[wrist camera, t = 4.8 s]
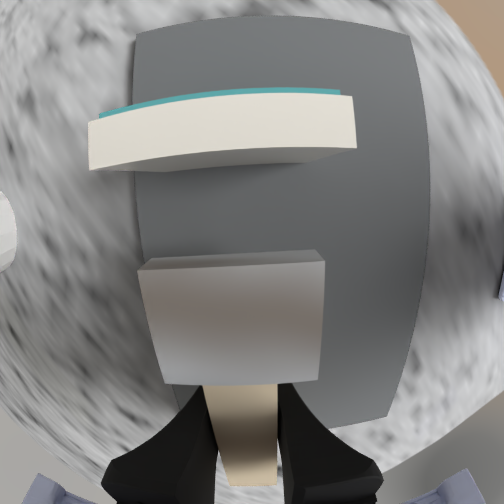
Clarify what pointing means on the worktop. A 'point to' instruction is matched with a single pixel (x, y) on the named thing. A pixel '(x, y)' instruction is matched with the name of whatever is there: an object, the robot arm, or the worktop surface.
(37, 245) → the worktop surface
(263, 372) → the turner
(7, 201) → the white cup
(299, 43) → the mat
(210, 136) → the tile
